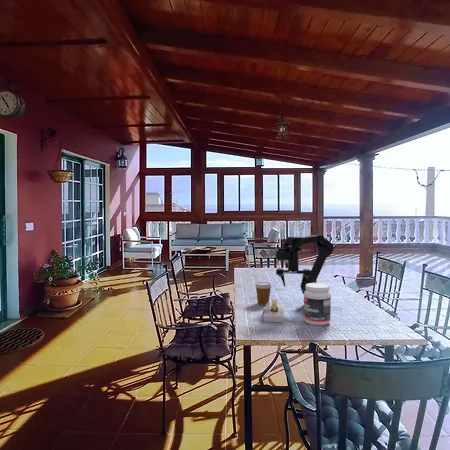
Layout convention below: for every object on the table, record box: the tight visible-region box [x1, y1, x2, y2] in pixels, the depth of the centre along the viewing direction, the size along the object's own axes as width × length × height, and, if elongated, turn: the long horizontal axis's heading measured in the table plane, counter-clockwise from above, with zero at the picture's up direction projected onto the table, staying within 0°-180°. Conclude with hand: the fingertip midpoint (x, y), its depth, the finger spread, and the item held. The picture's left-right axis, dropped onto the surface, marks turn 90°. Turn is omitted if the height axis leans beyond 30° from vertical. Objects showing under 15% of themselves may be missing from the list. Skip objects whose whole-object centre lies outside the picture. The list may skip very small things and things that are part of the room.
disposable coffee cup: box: [254, 281, 272, 306], centre depth 209 cm, size 10×10×12 cm
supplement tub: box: [303, 282, 332, 327], centre depth 174 cm, size 13×13×18 cm
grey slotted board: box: [263, 302, 285, 324], centre depth 187 cm, size 10×24×3 cm, turn 171°
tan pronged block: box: [271, 299, 278, 312], centre depth 187 cm, size 2×7×7 cm, turn 171°
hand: (293, 287), depth 198 cm, fingers open, 9 cm apart
